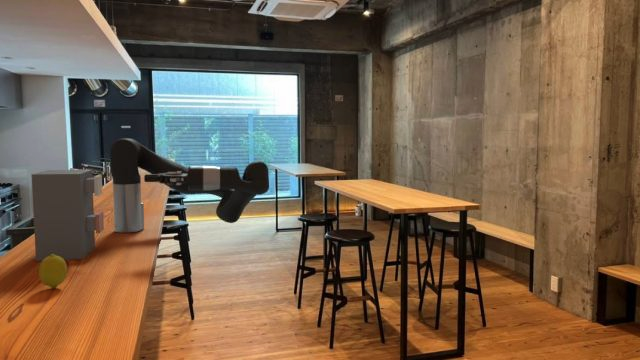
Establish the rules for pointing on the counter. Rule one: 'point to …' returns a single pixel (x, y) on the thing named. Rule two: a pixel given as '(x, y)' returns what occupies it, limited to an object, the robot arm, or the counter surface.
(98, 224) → the lower plunger
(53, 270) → the lemon
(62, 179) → the grey dispenser box
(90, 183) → the upper plunger
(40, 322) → the counter surface
